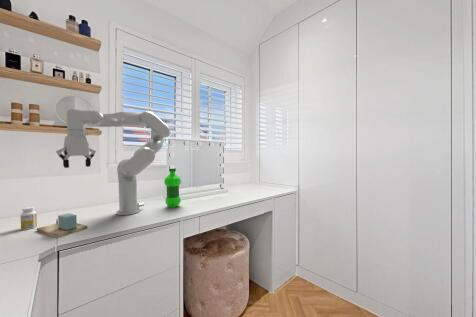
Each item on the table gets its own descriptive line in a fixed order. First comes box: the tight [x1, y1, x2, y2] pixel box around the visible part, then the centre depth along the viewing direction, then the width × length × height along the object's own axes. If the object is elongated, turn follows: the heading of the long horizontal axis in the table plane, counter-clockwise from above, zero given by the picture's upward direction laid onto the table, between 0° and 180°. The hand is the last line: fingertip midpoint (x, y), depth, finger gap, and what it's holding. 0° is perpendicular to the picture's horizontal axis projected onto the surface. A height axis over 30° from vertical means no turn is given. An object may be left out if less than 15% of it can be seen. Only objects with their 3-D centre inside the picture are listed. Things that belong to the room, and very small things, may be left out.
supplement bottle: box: [20, 206, 38, 231], centre depth 100 cm, size 5×5×10 cm
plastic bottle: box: [163, 167, 182, 208], centre depth 137 cm, size 10×10×25 cm
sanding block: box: [57, 213, 78, 231], centre depth 95 cm, size 7×4×6 cm, turn 62°
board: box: [36, 222, 88, 238], centre depth 97 cm, size 12×18×1 cm, turn 62°
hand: (77, 167), depth 108 cm, fingers open, 9 cm apart
